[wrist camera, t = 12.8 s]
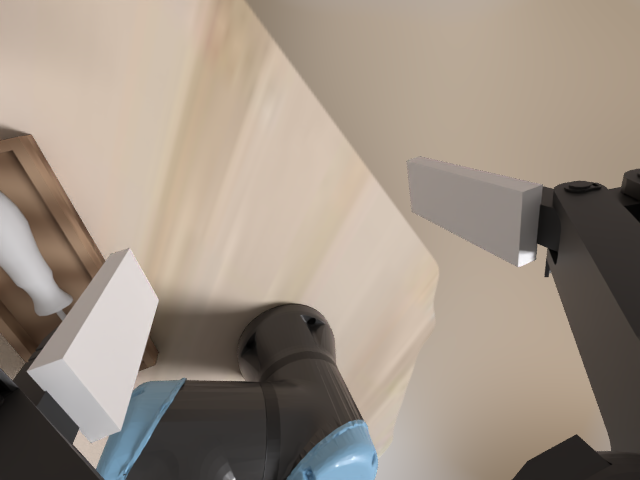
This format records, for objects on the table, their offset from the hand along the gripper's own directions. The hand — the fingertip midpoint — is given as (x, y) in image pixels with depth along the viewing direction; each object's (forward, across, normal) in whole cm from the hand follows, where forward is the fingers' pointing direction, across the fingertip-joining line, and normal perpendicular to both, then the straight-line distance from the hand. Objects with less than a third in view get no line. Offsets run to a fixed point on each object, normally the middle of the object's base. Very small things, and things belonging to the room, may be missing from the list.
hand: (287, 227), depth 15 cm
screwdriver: (+26, +25, +8) cm, 37 cm away
